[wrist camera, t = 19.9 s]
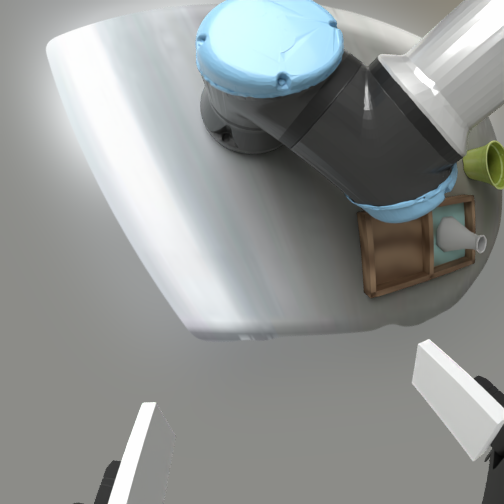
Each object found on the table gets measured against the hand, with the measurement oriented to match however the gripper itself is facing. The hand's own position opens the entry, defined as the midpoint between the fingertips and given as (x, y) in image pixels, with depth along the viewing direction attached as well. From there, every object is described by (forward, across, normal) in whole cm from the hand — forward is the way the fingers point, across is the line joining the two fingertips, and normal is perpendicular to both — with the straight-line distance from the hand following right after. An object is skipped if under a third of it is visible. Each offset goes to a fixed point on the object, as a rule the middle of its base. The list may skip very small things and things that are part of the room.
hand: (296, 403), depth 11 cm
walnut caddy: (+32, +31, -4) cm, 45 cm away
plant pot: (+32, +48, +9) cm, 58 cm away
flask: (+31, +38, -4) cm, 49 cm away
